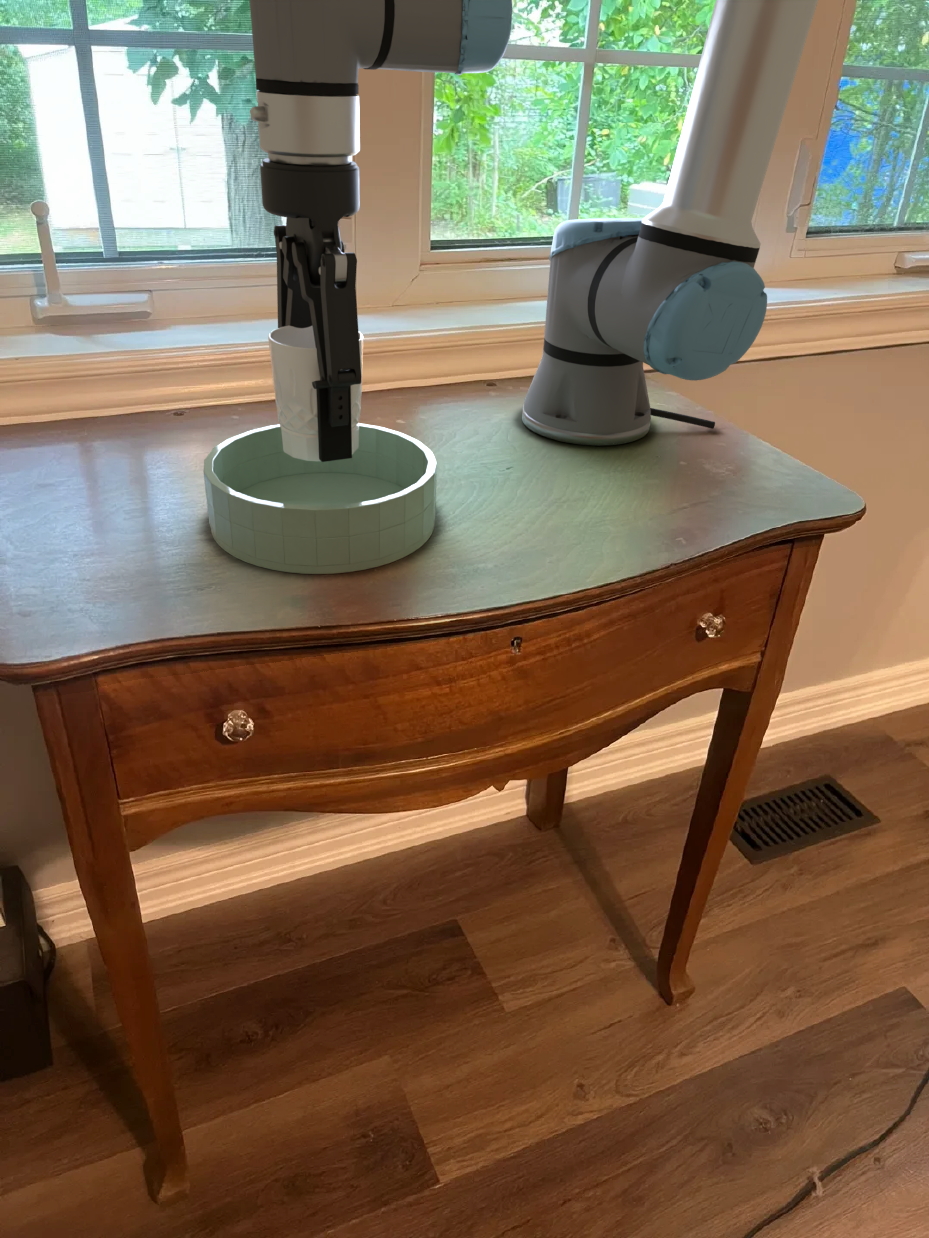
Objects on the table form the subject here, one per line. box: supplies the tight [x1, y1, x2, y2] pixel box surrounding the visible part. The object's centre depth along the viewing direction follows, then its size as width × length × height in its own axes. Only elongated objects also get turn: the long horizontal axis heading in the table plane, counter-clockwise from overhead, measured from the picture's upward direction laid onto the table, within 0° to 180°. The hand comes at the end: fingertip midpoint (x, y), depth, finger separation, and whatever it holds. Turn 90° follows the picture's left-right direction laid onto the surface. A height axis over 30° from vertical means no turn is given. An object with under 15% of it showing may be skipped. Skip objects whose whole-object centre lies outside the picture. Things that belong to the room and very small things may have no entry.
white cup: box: [267, 325, 364, 462], centre depth 81 cm, size 8×8×10 cm
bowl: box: [203, 422, 438, 575], centre depth 86 cm, size 21×21×6 cm
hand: (320, 441), depth 84 cm, fingers closed on white cup, 8 cm apart
